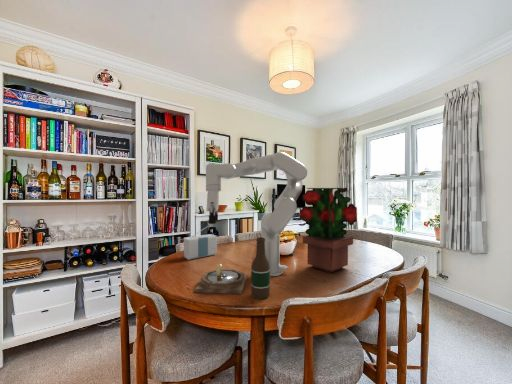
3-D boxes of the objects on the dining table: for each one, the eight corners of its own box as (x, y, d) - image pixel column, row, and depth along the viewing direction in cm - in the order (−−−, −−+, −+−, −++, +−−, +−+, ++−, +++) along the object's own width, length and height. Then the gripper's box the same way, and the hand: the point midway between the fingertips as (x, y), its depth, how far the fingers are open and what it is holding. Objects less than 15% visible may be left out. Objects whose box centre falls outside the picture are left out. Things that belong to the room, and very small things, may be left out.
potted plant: (333, 278, 121) (334, 187, 120) (299, 266, 138) (299, 187, 137) (356, 268, 135) (356, 188, 134) (322, 259, 152) (323, 188, 152)
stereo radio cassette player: (187, 261, 149) (187, 228, 148) (182, 258, 155) (182, 226, 155) (217, 255, 162) (217, 225, 162) (211, 252, 168) (211, 223, 168)
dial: (213, 274, 121) (213, 256, 121) (241, 275, 119) (241, 257, 119) (203, 285, 107) (203, 264, 107) (233, 287, 105) (233, 266, 105)
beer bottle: (269, 291, 105) (269, 236, 105) (270, 299, 97) (271, 239, 97) (251, 291, 105) (251, 236, 104) (251, 299, 97) (251, 240, 97)
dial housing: (246, 276, 122) (246, 268, 122) (241, 293, 103) (241, 284, 102) (207, 275, 124) (207, 267, 124) (195, 292, 104) (195, 283, 104)
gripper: (208, 188, 131) (208, 220, 131) (203, 188, 114) (203, 224, 114) (222, 188, 131) (222, 220, 132) (219, 188, 114) (219, 224, 114)
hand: (213, 222), depth 123 cm, fingers open, 9 cm apart
